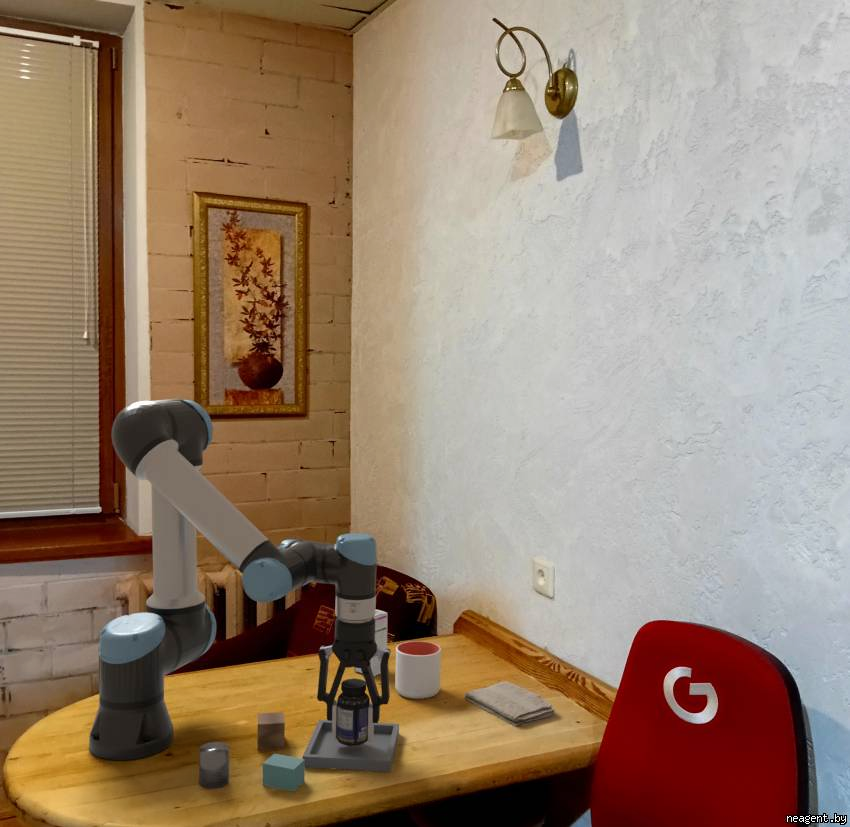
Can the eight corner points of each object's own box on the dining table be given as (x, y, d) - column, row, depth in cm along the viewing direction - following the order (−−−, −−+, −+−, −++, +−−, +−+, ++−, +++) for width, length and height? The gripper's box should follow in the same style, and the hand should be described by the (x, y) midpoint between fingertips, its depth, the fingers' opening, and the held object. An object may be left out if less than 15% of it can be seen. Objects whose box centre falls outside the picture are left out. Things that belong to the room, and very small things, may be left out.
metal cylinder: (195, 788, 147) (195, 753, 147) (204, 774, 152) (204, 741, 152) (223, 789, 147) (224, 755, 146) (232, 775, 152) (232, 742, 151)
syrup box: (387, 671, 204) (389, 611, 203) (370, 678, 200) (371, 616, 199) (370, 665, 208) (371, 606, 207) (352, 672, 204) (354, 611, 203)
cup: (435, 703, 186) (436, 657, 186) (390, 698, 188) (391, 653, 188) (443, 686, 196) (444, 643, 195) (400, 682, 198) (401, 639, 197)
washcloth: (517, 731, 174) (517, 716, 174) (461, 701, 189) (462, 688, 188) (559, 717, 181) (559, 703, 181) (502, 690, 196) (502, 677, 195)
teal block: (262, 785, 149) (262, 763, 148) (274, 775, 152) (274, 753, 152) (293, 792, 147) (293, 769, 146) (304, 781, 150) (304, 759, 150)
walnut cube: (257, 750, 162) (257, 724, 162) (257, 738, 167) (257, 713, 167) (284, 748, 163) (284, 722, 163) (283, 737, 168) (283, 712, 168)
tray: (302, 767, 155) (302, 756, 155) (318, 729, 171) (319, 719, 171) (390, 772, 154) (390, 761, 154) (399, 733, 170) (399, 723, 170)
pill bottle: (364, 731, 167) (365, 675, 166) (372, 745, 161) (374, 687, 160) (333, 734, 165) (334, 678, 164) (340, 748, 159) (341, 690, 158)
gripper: (300, 621, 158) (298, 743, 160) (404, 625, 157) (401, 749, 158) (309, 609, 166) (306, 726, 167) (407, 613, 165) (404, 732, 166)
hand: (352, 737), depth 163 cm, fingers closed on pill bottle, 6 cm apart
